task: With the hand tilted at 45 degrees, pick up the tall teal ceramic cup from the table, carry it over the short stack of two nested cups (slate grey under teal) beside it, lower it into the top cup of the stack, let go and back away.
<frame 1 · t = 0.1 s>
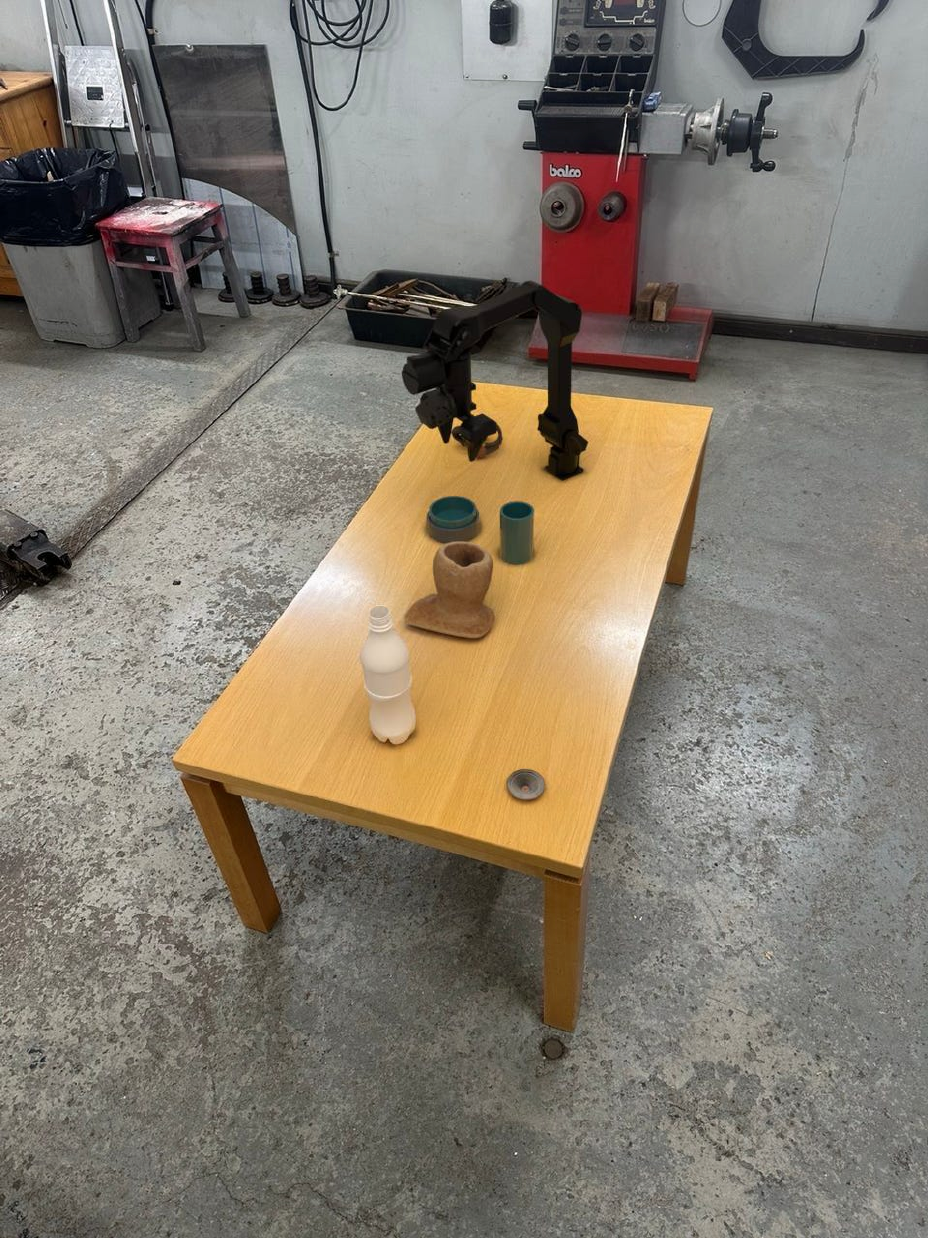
hand: (458, 451, 171), 15 cm above the table, tool pointing down, fingers open, 9 cm apart
stack top cup: (453, 518, 175), in the stack base cup
stack base cup: (453, 528, 176), on the table
teal cup: (516, 554, 169), on the table
water bottle: (394, 733, 134), on the table
brown ring piece: (477, 449, 201), on the table
stone cup: (454, 620, 155), on the table
dark grey round dish: (525, 789, 125), on the table
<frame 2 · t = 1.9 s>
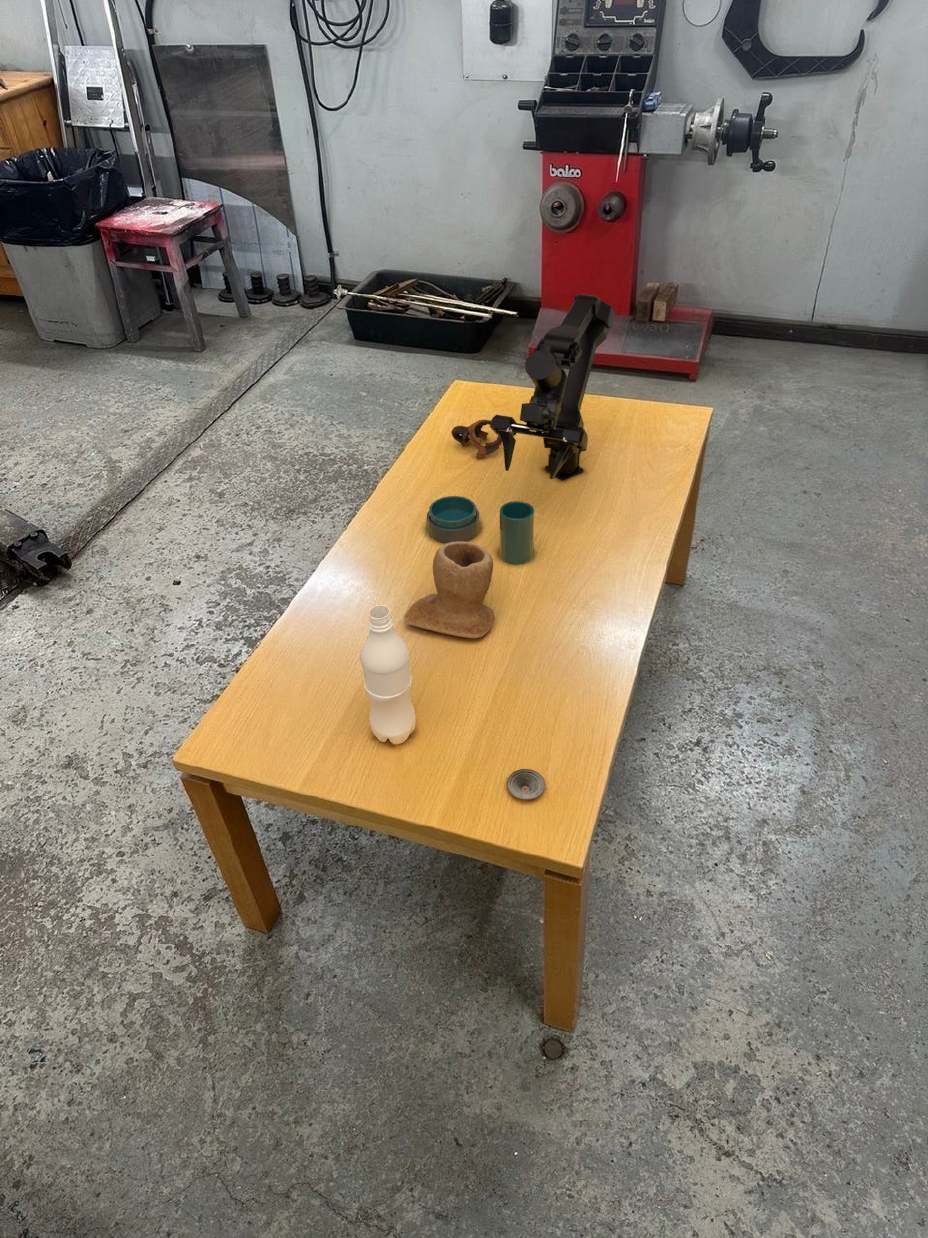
hand: (528, 474, 166), 13 cm above the table, tool tilted 45°, fingers open, 9 cm apart
nothing on the table moved.
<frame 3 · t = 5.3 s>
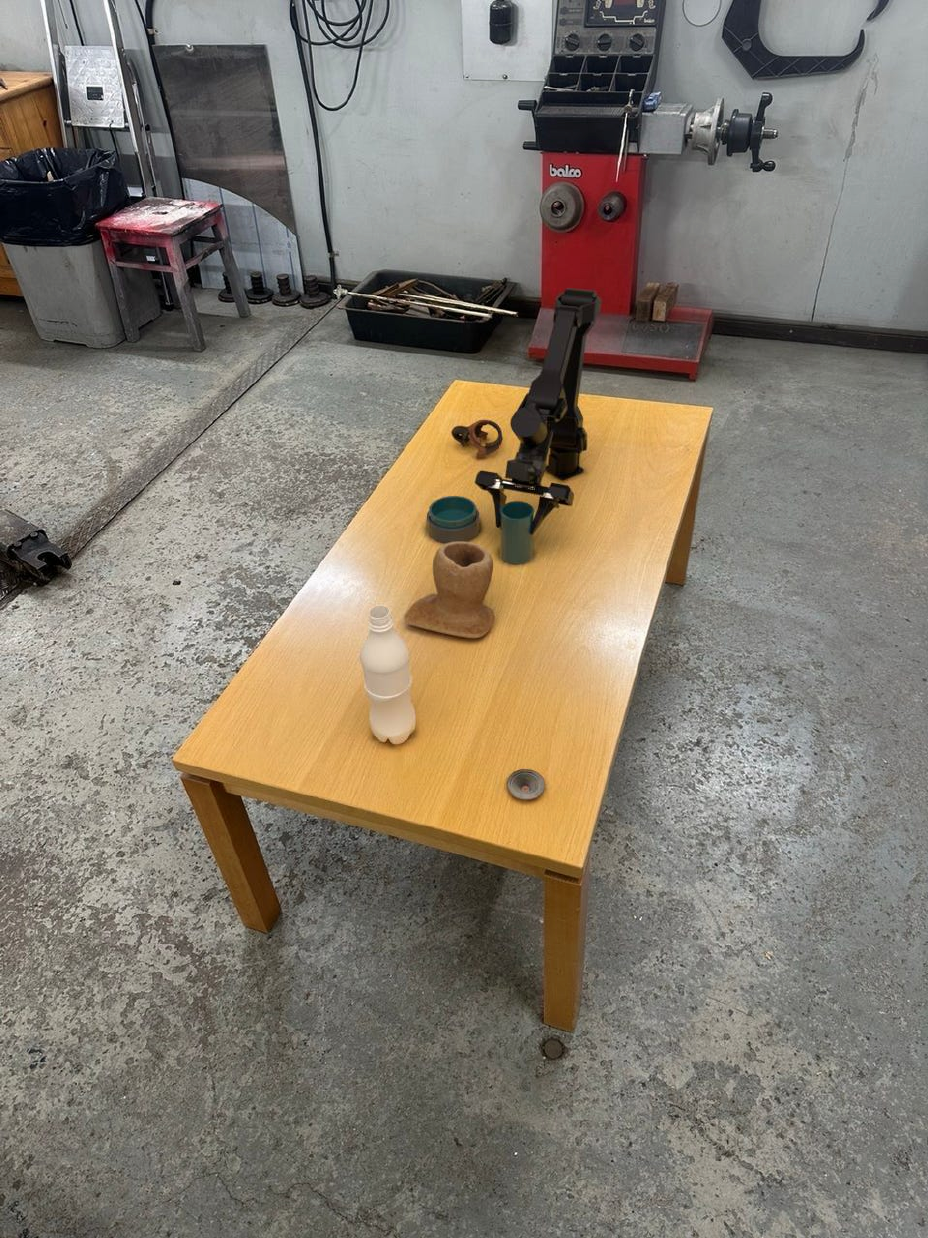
hand: (514, 531, 164), 7 cm above the table, tool tilted 45°, fingers closed on teal cup, 6 cm apart
teal cup: (516, 554, 169), on the table, touching gripper
everything else where it was.
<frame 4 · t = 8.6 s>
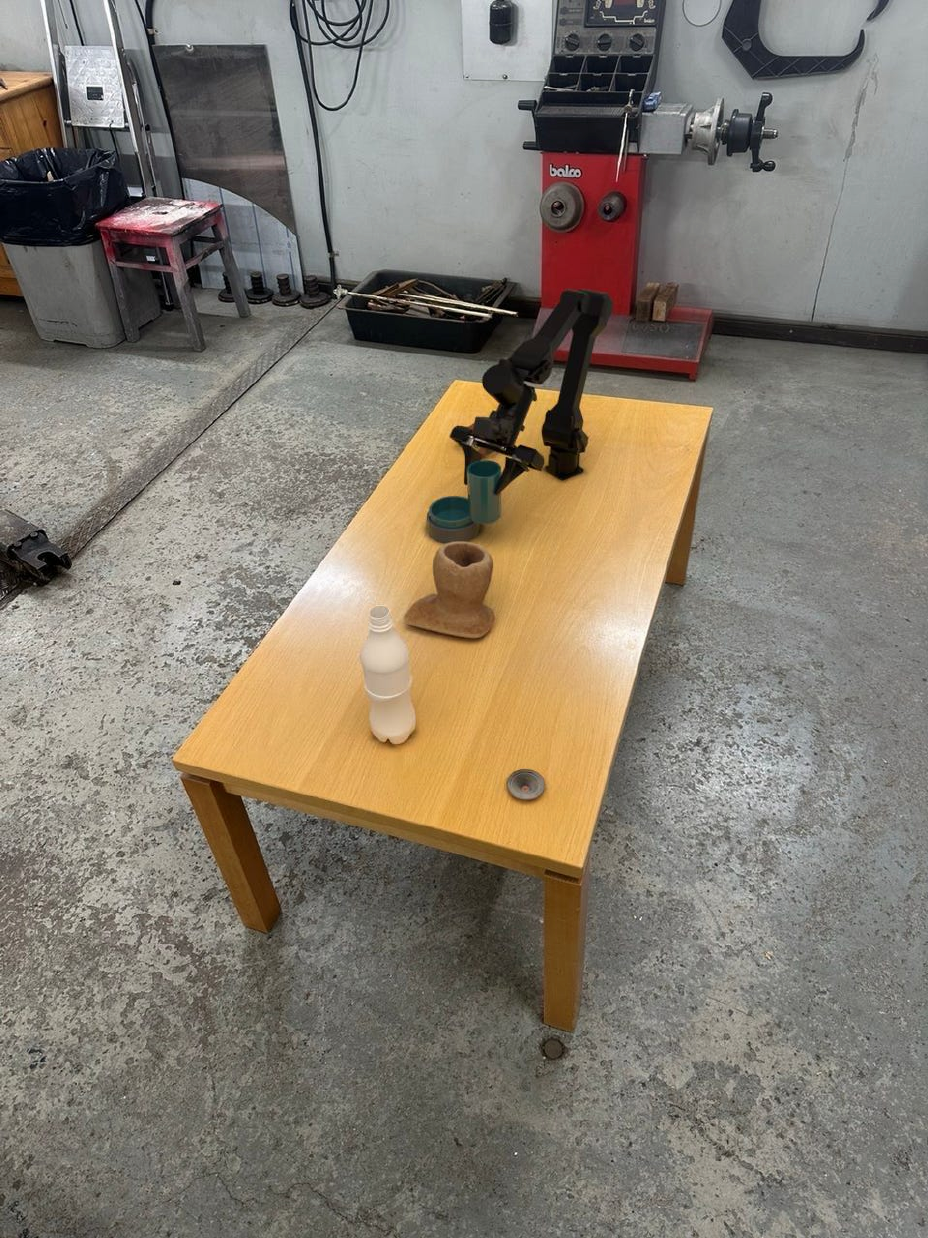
hand: (480, 489, 163), 13 cm above the table, tool tilted 45°, fingers closed on teal cup, 6 cm apart
teal cup: (484, 514, 168), point 7 cm above the table, touching gripper
everything else where it was.
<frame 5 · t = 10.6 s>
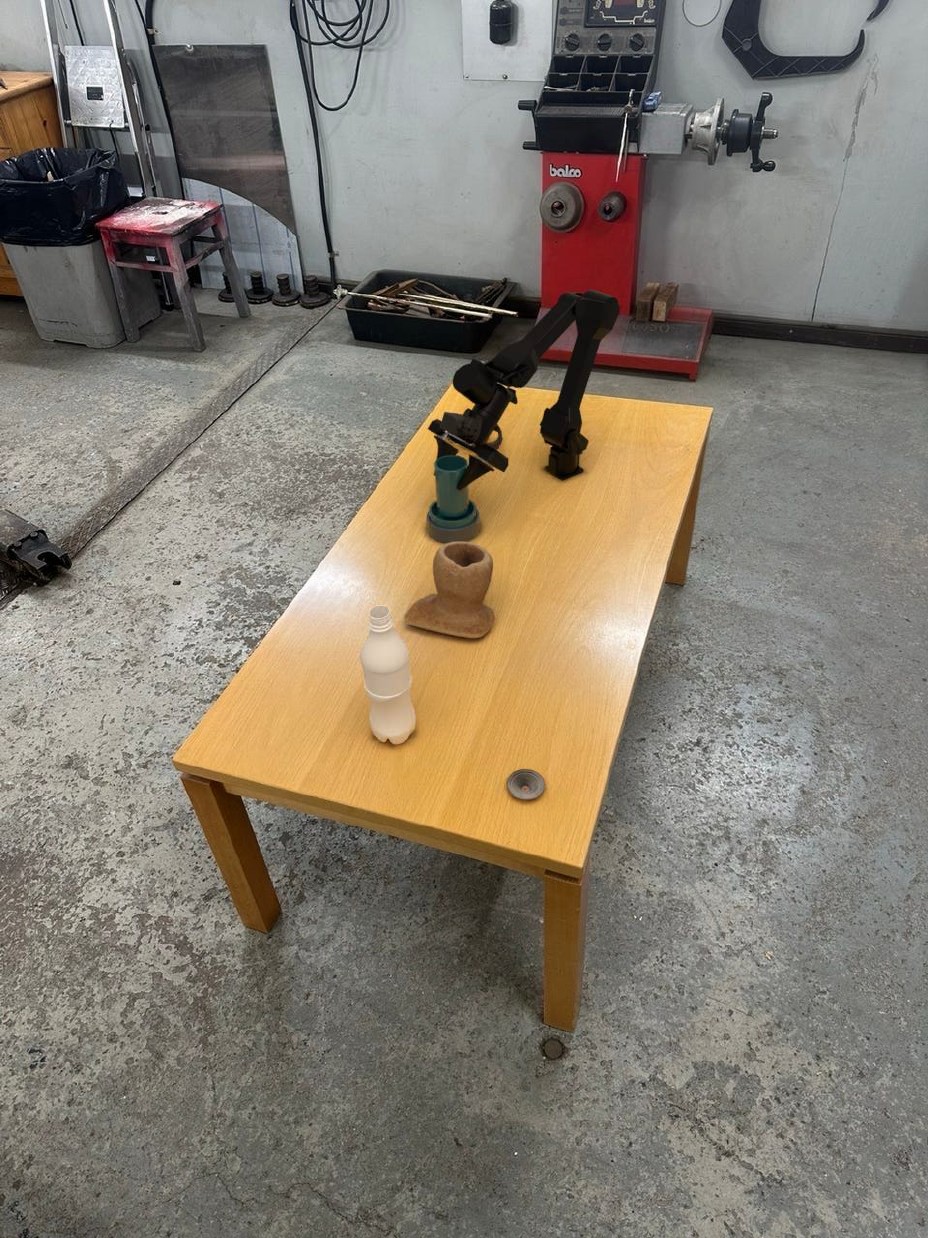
hand: (446, 482, 168), 12 cm above the table, tool tilted 45°, fingers closed on teal cup, 6 cm apart
teal cup: (453, 508, 173), point 5 cm above the table, touching gripper
everything else where it was.
when the fingers open (9 cm above the table, at t = 12.1 s): teal cup stays where it is, resting on stack top cup.
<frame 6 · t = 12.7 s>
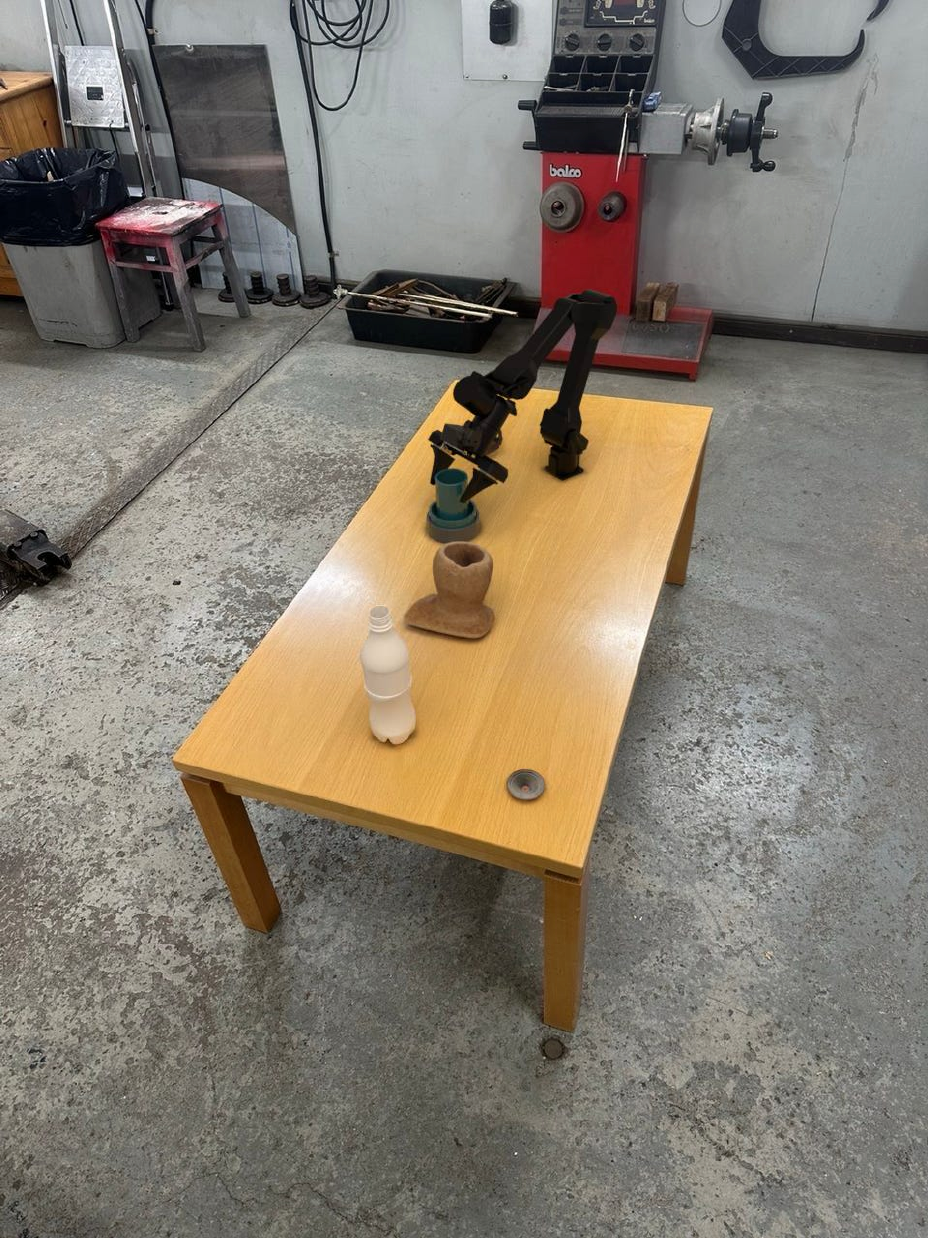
hand: (446, 493, 170), 9 cm above the table, tool tilted 45°, fingers open, 9 cm apart
teal cup: (453, 520, 175), point 2 cm above the table, touching stack top cup
everything else where it was.
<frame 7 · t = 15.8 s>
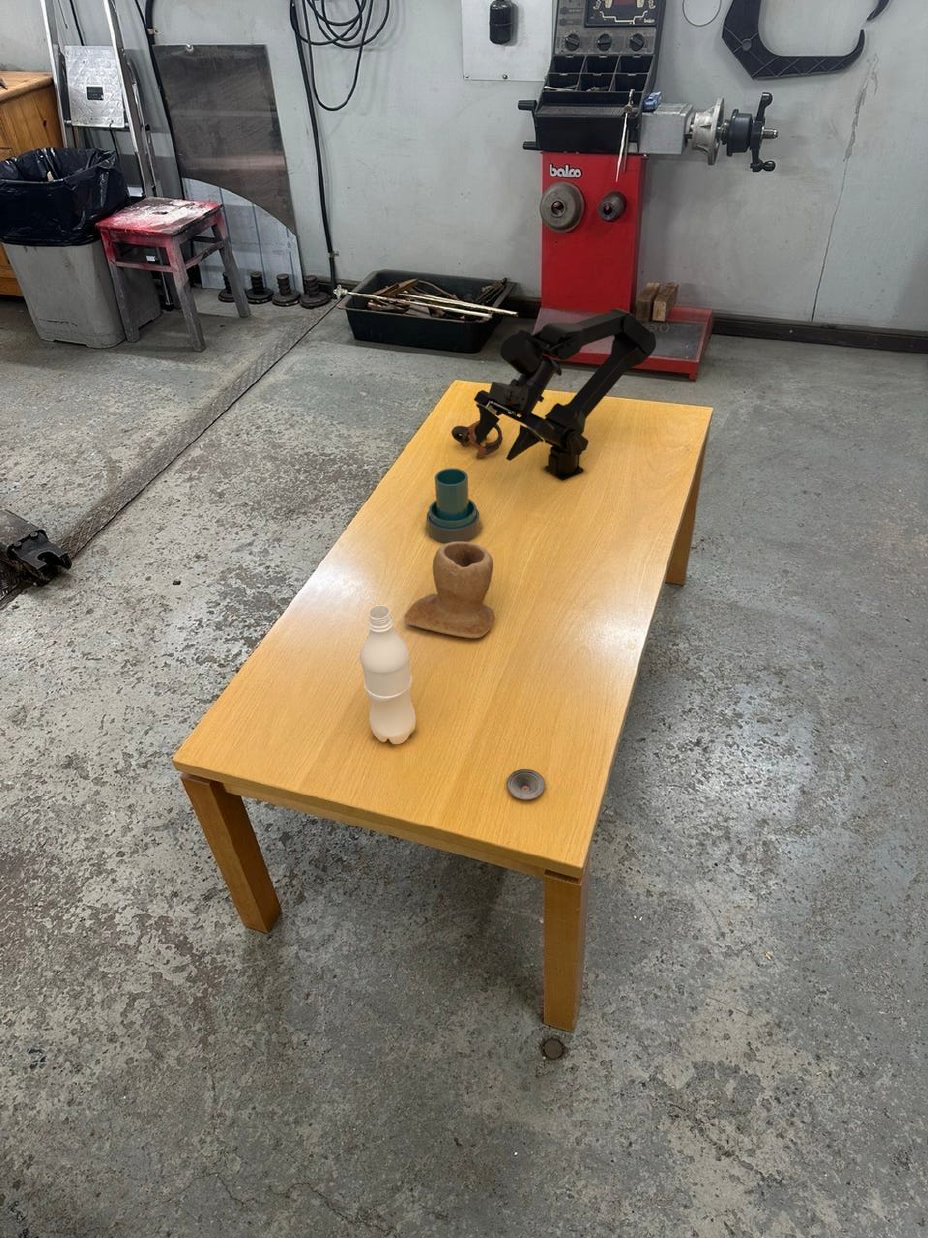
hand: (492, 451, 173), 13 cm above the table, tool tilted 45°, fingers open, 9 cm apart
nothing on the table moved.
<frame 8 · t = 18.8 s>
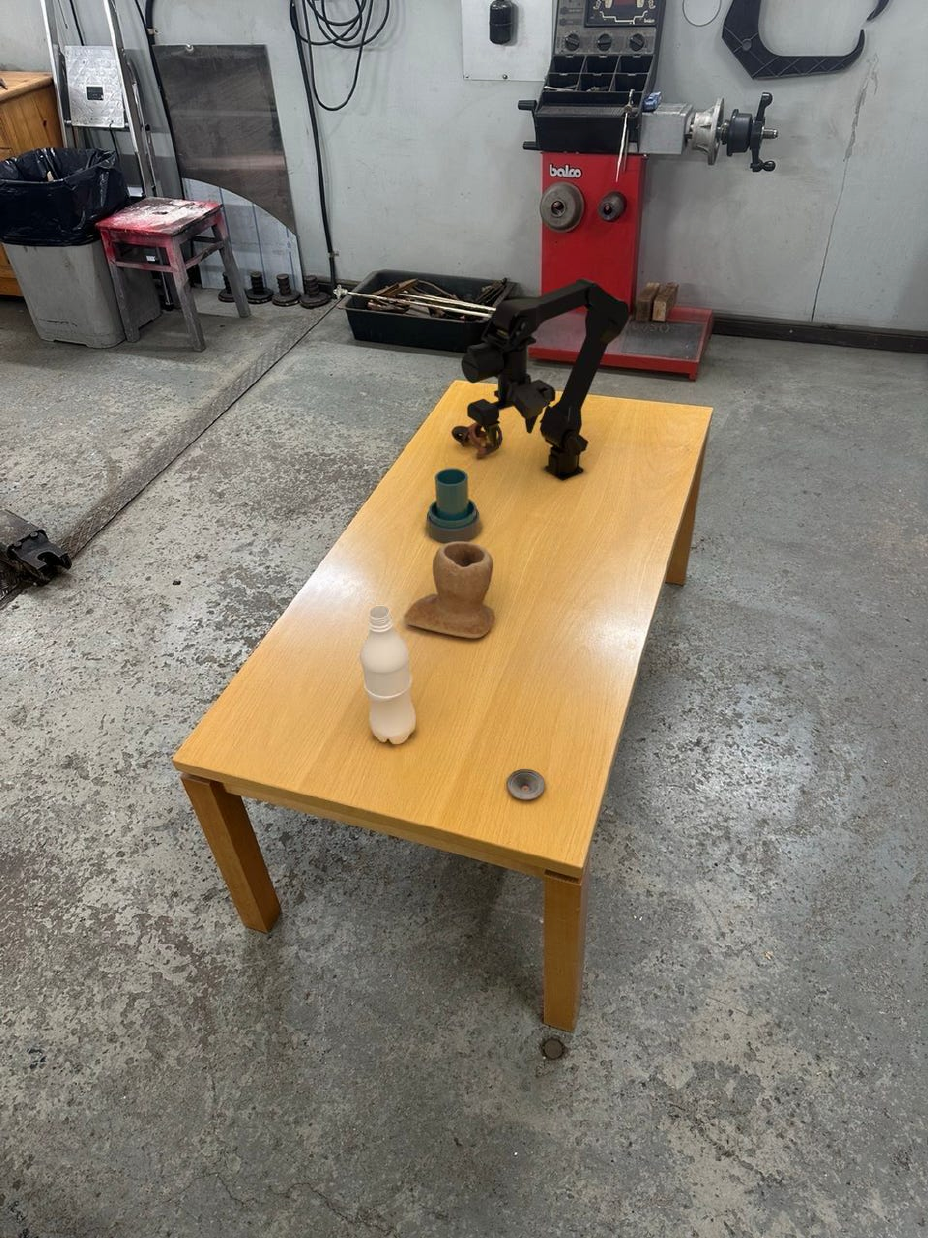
hand: (511, 439, 178), 13 cm above the table, tool pointing down, fingers open, 9 cm apart
nothing on the table moved.
at the end: teal cup 0.0 cm off-centre in the stack top cup, point 2.0 cm above the stack top cup's base; teal cup tilted 0°; the gripper is holding nothing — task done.
